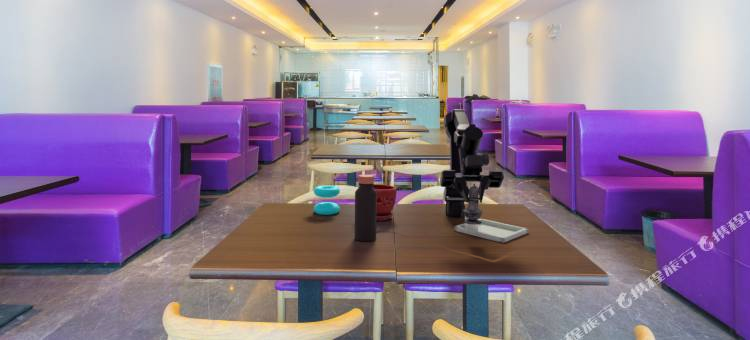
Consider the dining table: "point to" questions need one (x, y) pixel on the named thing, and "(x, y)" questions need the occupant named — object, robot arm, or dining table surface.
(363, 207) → the bottle
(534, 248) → the dining table surface
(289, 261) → the dining table surface
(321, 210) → the donuts
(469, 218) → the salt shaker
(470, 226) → the white smooth curved piece
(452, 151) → the robot arm
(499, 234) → the tray
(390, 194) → the plant pot
